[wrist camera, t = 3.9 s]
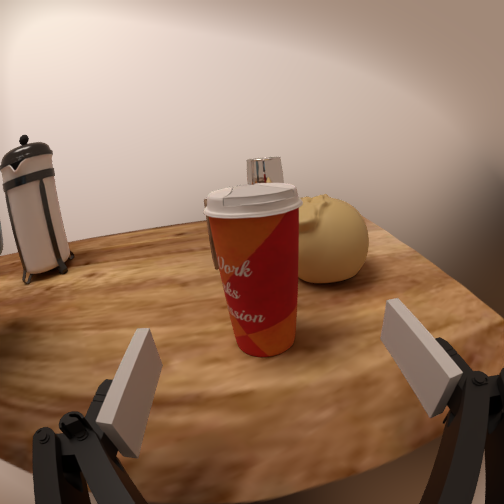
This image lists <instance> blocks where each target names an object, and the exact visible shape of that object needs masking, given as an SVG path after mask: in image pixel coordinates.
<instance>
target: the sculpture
mask: <svg viewBox="0 0 504 504" xmlns="http://www.w3.org/2000/svg"><path fill="white" fill-rule="evenodd" d="M301 200H302V201H303V204H302V206H300V207H299V259H298V277H299V278H300V279H302V280H304V281H306V282H311V283H331V282H337V281H342V280H346V279H349V278H351V277H353V276H354V275H356V274H357V273H358V272H359V270H360V269H361V267H362V266H363V264H364V262H365V259H366V256H367V253H368V246H369V238H368V231H367V227H366V224H365V222H364V219H363V218H362V216H361V214H360V213H359V212H358V211H357V210H356V209H355V208H354V207H353V206H351V205H350V204H348V203H346V202H344V201H341V200H338V199H333V198H331V197H329V196H328V195H327V194H324V195H320V196H316V197H313V198H310V197H304V198H301Z"/></svg>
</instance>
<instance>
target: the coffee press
mask: <svg viewBox="0 0 504 504" xmlns="http://www.w3.org/2000/svg"><path fill="white" fill-rule="evenodd" d="M28 139H29V138H28V136H27V135H22V136H21V137H20V140H19V142H20V144H21V145H22V146H20V147H17V148H15V149H13V150H11V151H9V152H8V153H7V154H6V155H5V156H4V157H3V159H2V162H1V166H0V171H1V172H2V176H3V183H4V184H3V189H4V192H5V195H6V202H7V208H8V212H9V217H10V221H11V226H12V230H13V234H14V238H15V242H16V245H17V249H18V252H19V256H20V259H21V262H22V266H23V270H24V272H23V279H22V280H23V282H24V283H26V284H29V283H30V281H31V278H32V276H33V275H34V274H37V273H42V272H45V271H48V270H51V269H53V268H56V269H57V270H58V271H59V272H60V273H61V274H64V273H66V272H67V271H68V269H67V267H66V265H65V264H64V262H65V261H66V260H67V259H73V258H74V254H73V253H72V252H71V251H70V250H69V246H68V242H67V238H66V234H65V230H64V226H63V221H62V217H61V212H60V207H59V202H58V197H57V192H56V186H55V179H54V176H55V173H54V168H53V166H52V155H53V153H52V150H50V148H49V146H48V145H47V144H45V143H42V142H36V143H30V144H27V142H28ZM70 254H71V257H70V258H69V255H70ZM26 272H27V273H30V275H29V278H28V281H27V282H25V278H26Z"/></svg>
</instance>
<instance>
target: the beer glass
mask: <svg viewBox="0 0 504 504" xmlns="http://www.w3.org/2000/svg"><path fill="white" fill-rule="evenodd" d="M247 180H248V184H249V185H255V184H256V183H284V182H283V171H282V166H281V159H280V157H269V158H257V159H249V160H247Z"/></svg>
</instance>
